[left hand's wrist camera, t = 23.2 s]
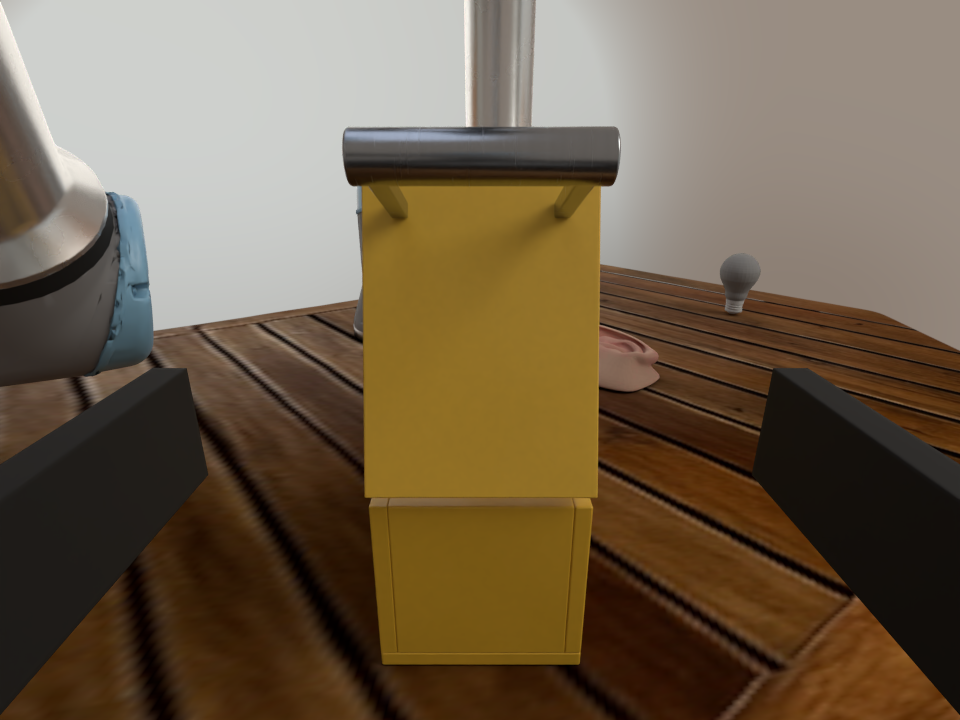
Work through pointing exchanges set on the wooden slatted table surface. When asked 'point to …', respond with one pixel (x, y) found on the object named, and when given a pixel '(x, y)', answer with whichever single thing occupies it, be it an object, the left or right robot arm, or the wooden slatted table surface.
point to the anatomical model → (624, 361)
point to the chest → (480, 579)
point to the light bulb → (738, 279)
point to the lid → (481, 307)
